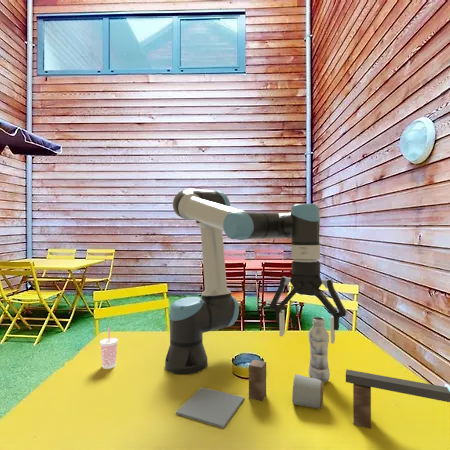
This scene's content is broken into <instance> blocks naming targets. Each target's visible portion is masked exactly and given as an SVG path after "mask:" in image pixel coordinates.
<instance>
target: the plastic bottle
mask: <svg viewBox="0 0 450 450" xmlns="http://www.w3.org/2000/svg"><path fill="white" fill-rule="evenodd" d="M325 325H326V322H325V318H324V317H320V316H319V317H318V316H315V317H312V326H311V328H310V329H309V331H308V334H307V335H308V343H309V351H310V357H309V366H308V376H309V377H310V378H315V379H318V380H320V381H322V382H323V383H324V384H327V382H328V381H329V380H330V376H331V372H330V368H329V361H328V356H329V355H328V352H329V351H328V350H329V343H330V342H329V341H330V334H329V331H328V330H327V328H326V327H325Z"/></svg>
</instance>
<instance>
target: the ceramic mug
mask: <svg viewBox="0 0 450 450" xmlns="http://www.w3.org/2000/svg"><path fill="white" fill-rule="evenodd" d="M292 383H293V384H292V396H291V397H292V399H291V400H292V404H293V405H297V406H302V407H306V408H312V409H322V408H323V406H324V388H325V387H324V386H325V383H323V382H322V381H320V380H318V379H315V378H310V377H308V376H305V375H301V374H298V373H296V374H294V378H293V382H292Z"/></svg>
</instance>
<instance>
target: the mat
mask: <svg viewBox="0 0 450 450" xmlns="http://www.w3.org/2000/svg"><path fill="white" fill-rule="evenodd" d="M244 401H245V397H244V396H240V395H236V394H232V393H227V392H224V391H220V390H215V389H213V388H212V389H211V388H207V387H203V386H201V387H200V388H199V389H198V390H197V391H196V392H195V393H194V394H193V395H191V396H190V398H189V399H187V401H186V402H184V403H183V405H181V406H180V407H179V408H178V409H177V410H176V411H175V414H176V416H177V415H178V416H180V417H184V418H187V419H191V420H195V421H197V422H202V423H203V424H207V425H211V426H214V427H217V428H220V429H224V428H226V426H227V425H228V423H229V422H230V420H232V417H233V416H234V415H235V413H236V412H237V410H238V409H239V408H240V406H241V405H242V403H244Z"/></svg>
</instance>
